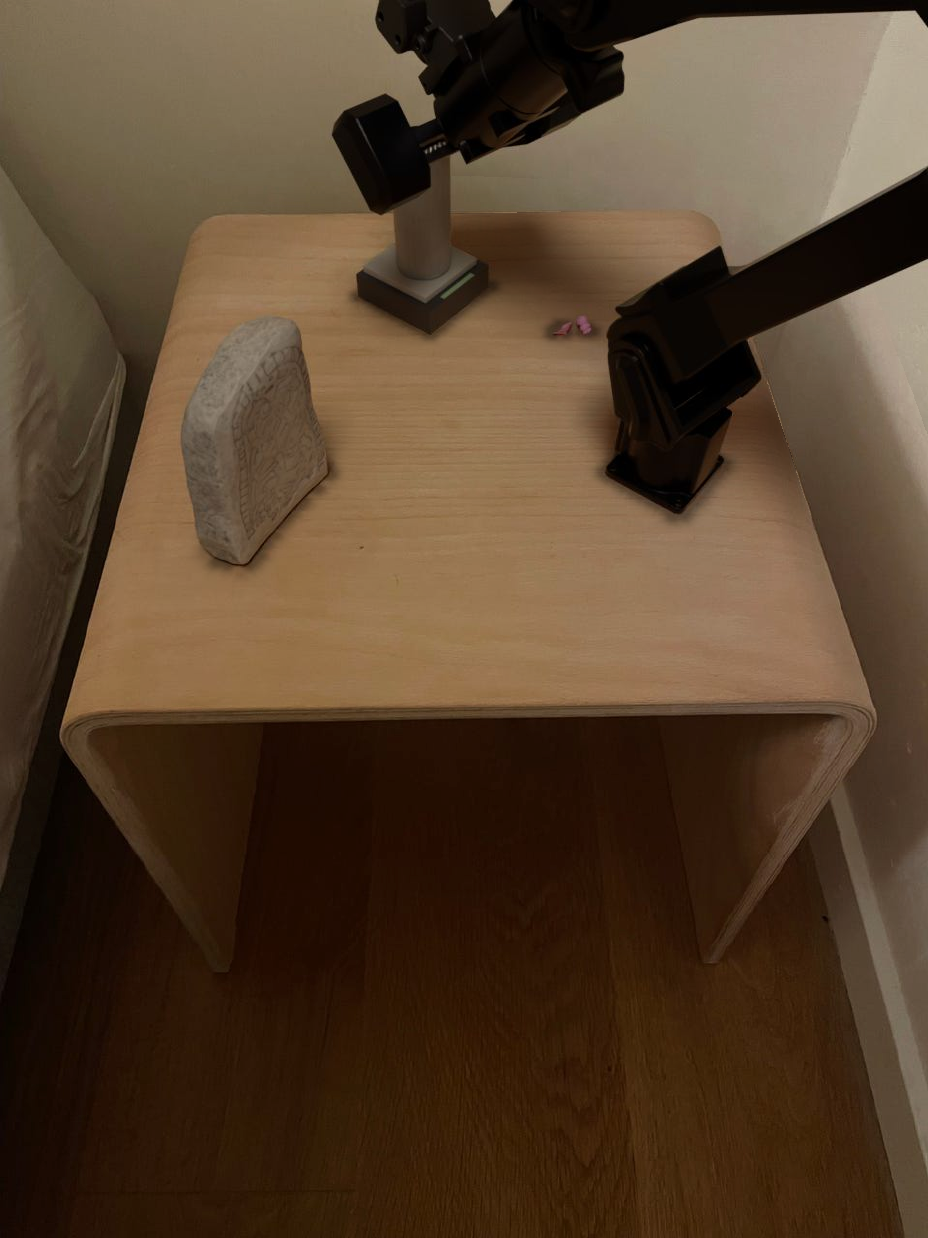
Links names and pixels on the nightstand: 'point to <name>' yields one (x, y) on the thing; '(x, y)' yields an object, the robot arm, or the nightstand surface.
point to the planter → (426, 227)
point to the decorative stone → (251, 438)
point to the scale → (422, 288)
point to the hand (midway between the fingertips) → (413, 166)
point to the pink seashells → (580, 321)
